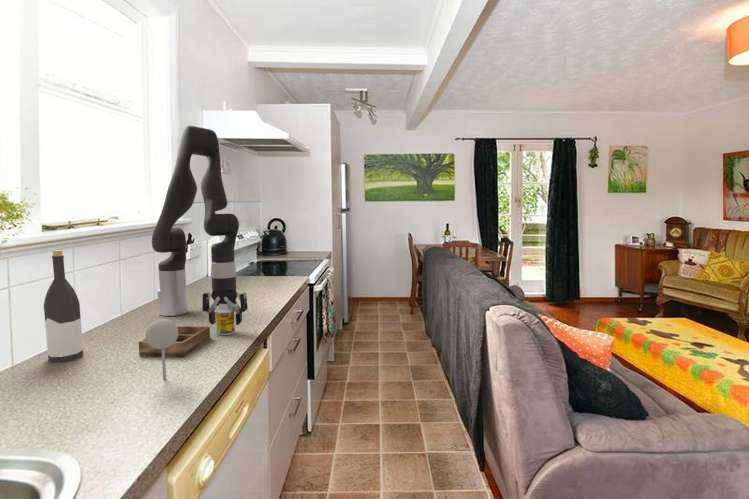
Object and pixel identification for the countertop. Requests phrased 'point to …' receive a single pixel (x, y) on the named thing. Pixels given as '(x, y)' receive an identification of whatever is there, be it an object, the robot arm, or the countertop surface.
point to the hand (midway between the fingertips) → (225, 324)
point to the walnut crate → (179, 342)
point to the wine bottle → (62, 316)
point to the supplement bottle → (225, 320)
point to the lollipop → (162, 337)
